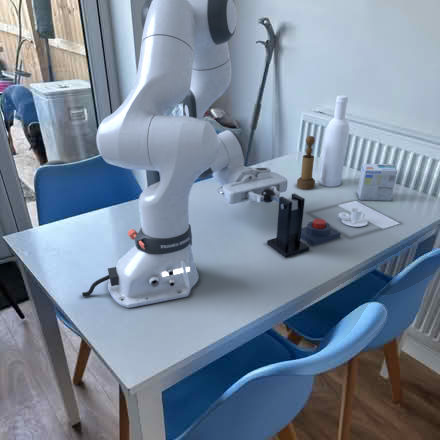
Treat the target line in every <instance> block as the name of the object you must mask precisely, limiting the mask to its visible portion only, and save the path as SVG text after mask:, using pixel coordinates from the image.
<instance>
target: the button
mask: <svg viewBox="0 0 440 440" xmlns="http://www.w3.org/2000/svg"><path fill="white" fill-rule="evenodd" d="M312 221H313V227H314V228H316V229H323V228H325V225H326V223H327V221H326V220H325V219H323V218H314V219H313V220H312Z"/></svg>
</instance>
